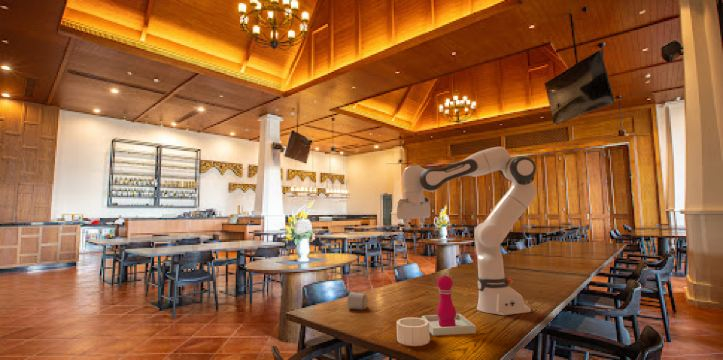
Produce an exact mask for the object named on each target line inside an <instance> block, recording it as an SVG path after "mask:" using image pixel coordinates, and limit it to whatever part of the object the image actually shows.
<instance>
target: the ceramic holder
mask: <svg viewBox="0 0 723 360" xmlns="http://www.w3.org/2000/svg"><path fill="white" fill-rule="evenodd" d="M430 335H431V332H430V331H429V322H428V321H427V320H425V319H422V317H403V318H398V320H396V340H397V342H398V343H399V344H401V345H404V346H408V347H409V346H410V347H420V346H425V345H427V344H429V343H430V341H431V336H430Z"/></svg>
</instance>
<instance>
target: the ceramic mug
mask: <svg viewBox="0 0 723 360" xmlns="http://www.w3.org/2000/svg"><path fill="white" fill-rule="evenodd" d="M368 300H369V298H368V295H367V294H366V293H361V292H354V291H350V292H349V294H348V296H347V308H348V309H349V310H358V311H359V310H361V311H362V310H365V309H367V307H368V303H369V302H368Z"/></svg>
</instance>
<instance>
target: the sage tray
mask: <svg viewBox="0 0 723 360" xmlns="http://www.w3.org/2000/svg"><path fill="white" fill-rule="evenodd" d="M421 318H422V319H425V320H427V321H428V322H429V332H430V335H432V336H433V337H434V336H451V335H466V334H468V335H470V334H477V326H476V325H475V324H474V323H473V322H471V321H470V320H469V319H467V318H466V317H465V316H464V315H462V314H460V313H456V317H455V318H454V320H455V324H456V325H455V326H454V327H441V326H440V325H439V319H440V318H439V317H438V315H437V314H431V315H421Z"/></svg>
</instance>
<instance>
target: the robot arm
mask: <svg viewBox="0 0 723 360" xmlns="http://www.w3.org/2000/svg"><path fill="white" fill-rule="evenodd" d="M536 170H537V165H536V163H535V161H534V160H533V159H532V158H531V157H529V156H523V155H521V156H517V157H512V156H511V155H510V154H509V152H508V150H507V149H506V148H505V147H503V146H495V147H490V148H486V149H483V150H479V151H477V152H475V153H473V154H471V155H469V156H467V157H466V158H464V159H463V160H461V161H458V162H457V163H453V164H451V165H447V166H445V167H441V168H440V167H429V168H428V167H427V168H424V167H422V166H420V165H419V164H411V165H408V166H407V167H405V168H404V169H403V174H402V185H403V188H404V190H403V198H399V200H398V201H397V206H396V218H397V219H398V220H402V222H403V224H404V226H405V227H404V228H405V230H409V229H411V225H410V223H409V220H410V219H411V220H413V219H415V220H417V219H419V221H420V222H419V224H418V229H424V225H425V221H426V219H430V218H431V206H430V202H431V201H430V200H431V199H430V198H429V197H427V196H425V195H424V194H423V191H426V192H430V193H432V192H436V191H437V190H439V189H440V188H441V187H442V186H443V185H444V184H445V183H447V182H449V181H453V180H455V179H457V178H461V177H465V176H466V177H467V176H469V177H481V176H486V175H488V174H490V173H493V172H497V171H498V172H499V173H500V174H501V175H502V177H503V178H504V179H505V180H507V181H508V182H511V184H510V187H509V189H508V190H507V191H506V193H505V194H504V195H503V196H502V197H501V198H500V199H499V201H498V202H497V203H496V205H495V206H494V207H493V209H492V210H491V211H490V213H489V215H488V216H487V217H486V219H485V220H484V221H483V222H481V223H479V224H477V226H476V227H475V229H474V242H475V252H476V259H477V273H478V276H477V289H478V301H477V305H476V309H477V311H479V312H482V313H487V314H495V315H500V316H509V315H515V314H516V315H517V314H524V313H525V314H526V313H530V312H532V310H531V307H529V305H528V306H527V305H526V304H525V300H524V298H523V296H522V295H521V294H520V293H519V292H518V291H516V290H515V289H513V288H512V287H511V286H510V285H513V283H514V280H513V279H511V278H506V277H505V270H504V259H503V258H504V257H503V254H502V248H501V244H502V243H503V241H504V240H505V239H506V237H507V236H508V234H509V233H510V231H511V230H512V228H513V226H514V225H515V223H516V222H517V221H518V220H519V218H520V217H521V216H522V215H523V214H524V213H525V211H526V210H527V209H528V208H529V206H530V205H531V204H532V202H533V200H534V199H535V197H536V195H537V193H538V189H537V187H536V185H535V184H534V183H533V181H534V180H535V175H536Z"/></svg>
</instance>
